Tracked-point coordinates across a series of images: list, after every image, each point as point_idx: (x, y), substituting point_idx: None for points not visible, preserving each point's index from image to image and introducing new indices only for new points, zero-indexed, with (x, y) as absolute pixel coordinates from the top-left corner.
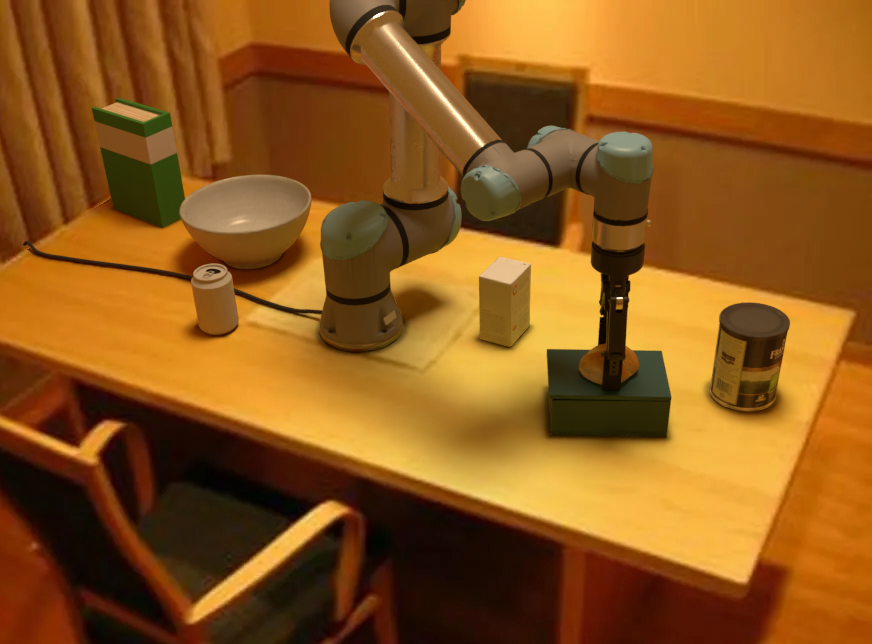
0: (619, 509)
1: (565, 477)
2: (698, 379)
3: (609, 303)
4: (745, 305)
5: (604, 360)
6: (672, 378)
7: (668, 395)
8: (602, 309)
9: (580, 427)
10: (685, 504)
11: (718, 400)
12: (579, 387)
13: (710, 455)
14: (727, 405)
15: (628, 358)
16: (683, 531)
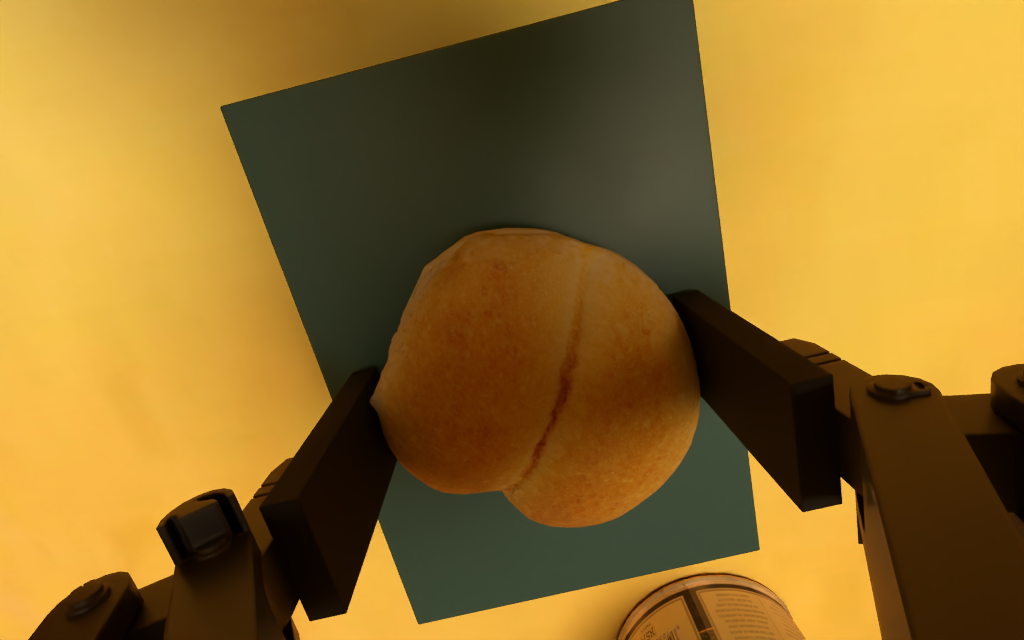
0: (45, 425)
1: (112, 241)
2: (760, 541)
3: (887, 596)
4: None
5: (282, 474)
6: (756, 473)
7: (424, 614)
8: (861, 451)
9: None
10: (157, 575)
11: (648, 606)
12: (347, 257)
13: (393, 605)
14: (628, 627)
15: (537, 508)
16: (47, 582)
